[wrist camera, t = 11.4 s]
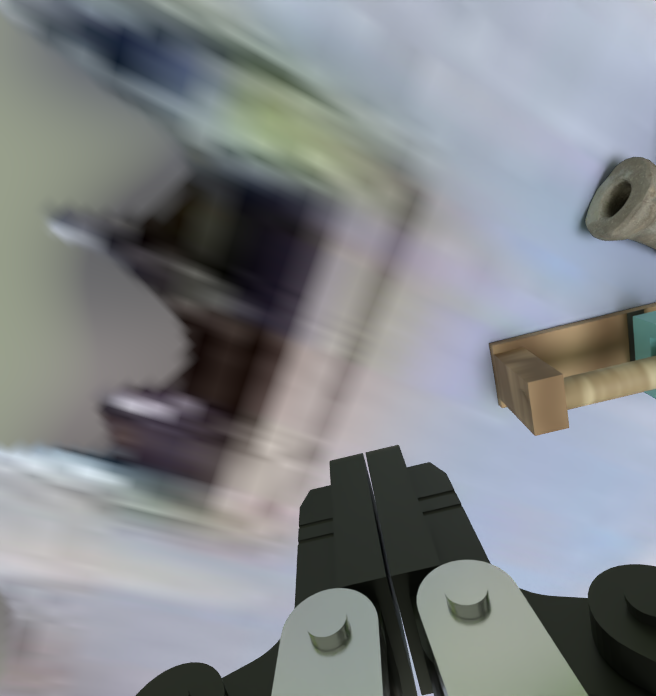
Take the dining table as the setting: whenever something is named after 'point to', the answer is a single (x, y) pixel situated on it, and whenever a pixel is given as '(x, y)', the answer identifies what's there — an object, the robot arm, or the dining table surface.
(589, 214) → the pipe
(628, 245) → the dining table surface
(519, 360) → the wooden dowel plank
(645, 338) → the teal flat board
